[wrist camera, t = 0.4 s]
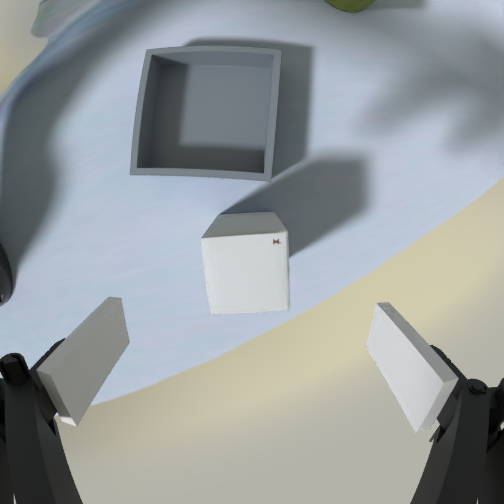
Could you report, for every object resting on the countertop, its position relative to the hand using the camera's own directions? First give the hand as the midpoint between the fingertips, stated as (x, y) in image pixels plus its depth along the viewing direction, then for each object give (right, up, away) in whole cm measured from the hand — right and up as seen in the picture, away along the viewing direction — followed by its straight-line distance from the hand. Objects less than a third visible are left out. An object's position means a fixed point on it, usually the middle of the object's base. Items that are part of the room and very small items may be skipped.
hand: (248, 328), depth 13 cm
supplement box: (0, +5, +22) cm, 23 cm away
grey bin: (-5, +20, +18) cm, 28 cm away
